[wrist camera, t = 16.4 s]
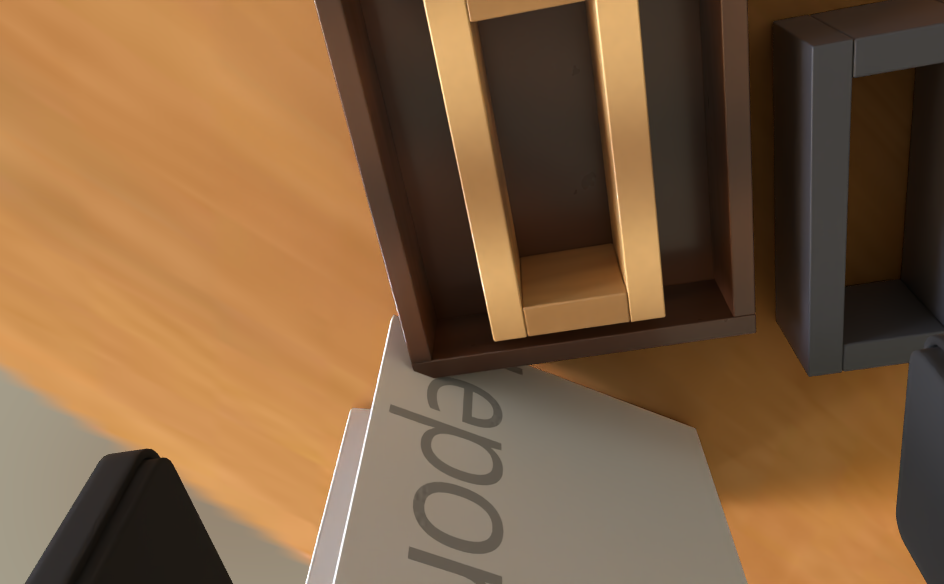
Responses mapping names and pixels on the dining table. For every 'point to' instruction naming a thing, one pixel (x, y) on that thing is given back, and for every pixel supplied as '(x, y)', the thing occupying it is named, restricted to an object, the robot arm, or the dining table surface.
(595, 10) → the frame top
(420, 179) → the holder
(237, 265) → the dining table surface
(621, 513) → the brochure
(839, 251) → the frame low
